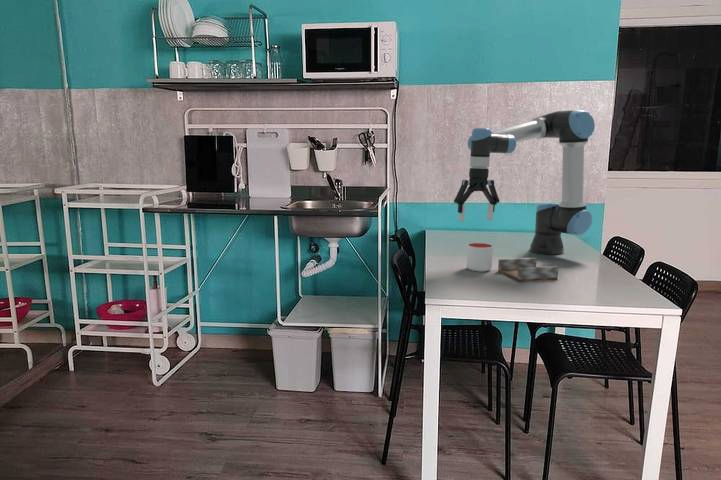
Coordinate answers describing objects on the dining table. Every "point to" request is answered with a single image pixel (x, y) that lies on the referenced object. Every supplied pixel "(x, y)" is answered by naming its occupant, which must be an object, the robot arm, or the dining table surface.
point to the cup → (479, 257)
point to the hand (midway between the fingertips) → (475, 220)
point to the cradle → (526, 270)
